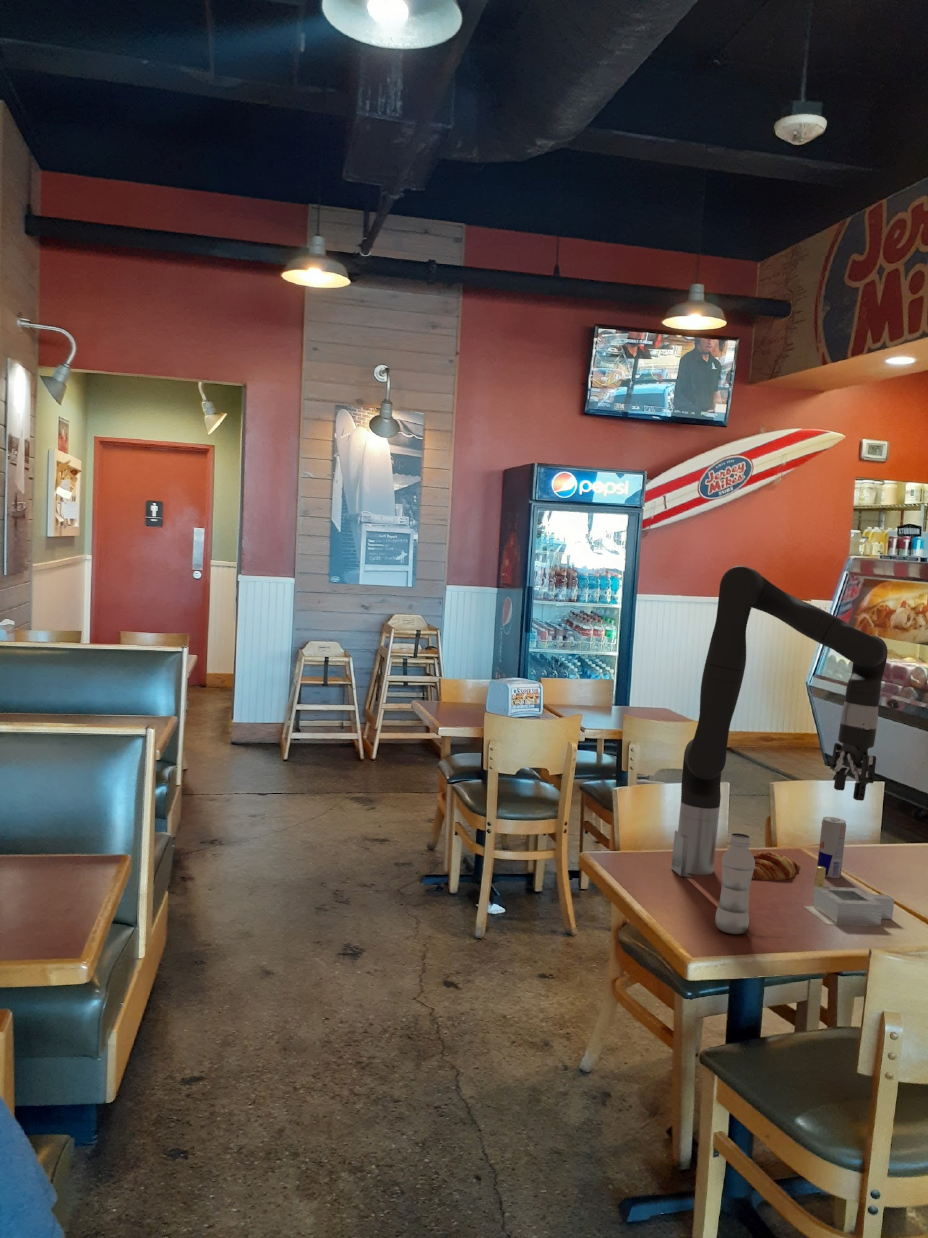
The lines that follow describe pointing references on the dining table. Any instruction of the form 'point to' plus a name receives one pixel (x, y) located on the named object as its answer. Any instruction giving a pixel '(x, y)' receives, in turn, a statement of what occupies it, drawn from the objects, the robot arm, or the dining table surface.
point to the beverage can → (832, 846)
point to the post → (819, 877)
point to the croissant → (774, 866)
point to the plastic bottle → (735, 886)
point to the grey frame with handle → (852, 905)
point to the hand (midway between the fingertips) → (848, 794)
